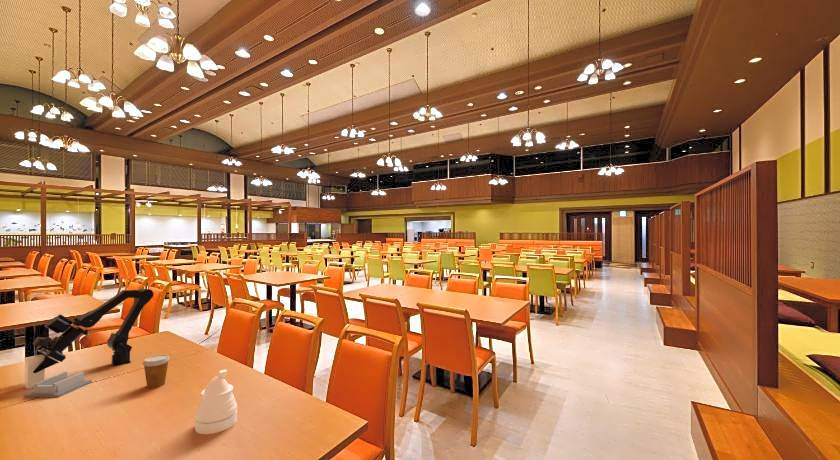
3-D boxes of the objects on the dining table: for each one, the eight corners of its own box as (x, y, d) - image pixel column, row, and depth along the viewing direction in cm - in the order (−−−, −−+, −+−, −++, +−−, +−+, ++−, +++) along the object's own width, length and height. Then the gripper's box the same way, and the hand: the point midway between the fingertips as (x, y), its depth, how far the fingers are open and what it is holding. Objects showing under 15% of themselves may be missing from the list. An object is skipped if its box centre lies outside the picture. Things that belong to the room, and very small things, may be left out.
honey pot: (228, 410, 130) (229, 363, 130) (243, 422, 122) (243, 371, 122) (189, 424, 120) (190, 373, 120) (202, 438, 112) (203, 384, 112)
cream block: (41, 382, 154) (41, 354, 154) (44, 384, 151) (44, 356, 152) (24, 386, 149) (25, 357, 150) (27, 388, 147) (28, 359, 147)
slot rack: (61, 382, 154) (61, 371, 154) (91, 382, 154) (92, 371, 154) (24, 396, 140) (25, 384, 140) (58, 397, 140) (59, 384, 140)
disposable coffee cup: (174, 380, 156) (175, 354, 156) (156, 390, 146) (157, 362, 146) (155, 379, 157) (155, 353, 157) (136, 389, 147) (136, 361, 147)
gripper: (43, 326, 159) (5, 357, 149) (56, 332, 150) (17, 366, 140) (66, 339, 166) (31, 369, 156) (80, 345, 156) (44, 378, 147)
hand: (30, 370), depth 149 cm, fingers open, 9 cm apart
